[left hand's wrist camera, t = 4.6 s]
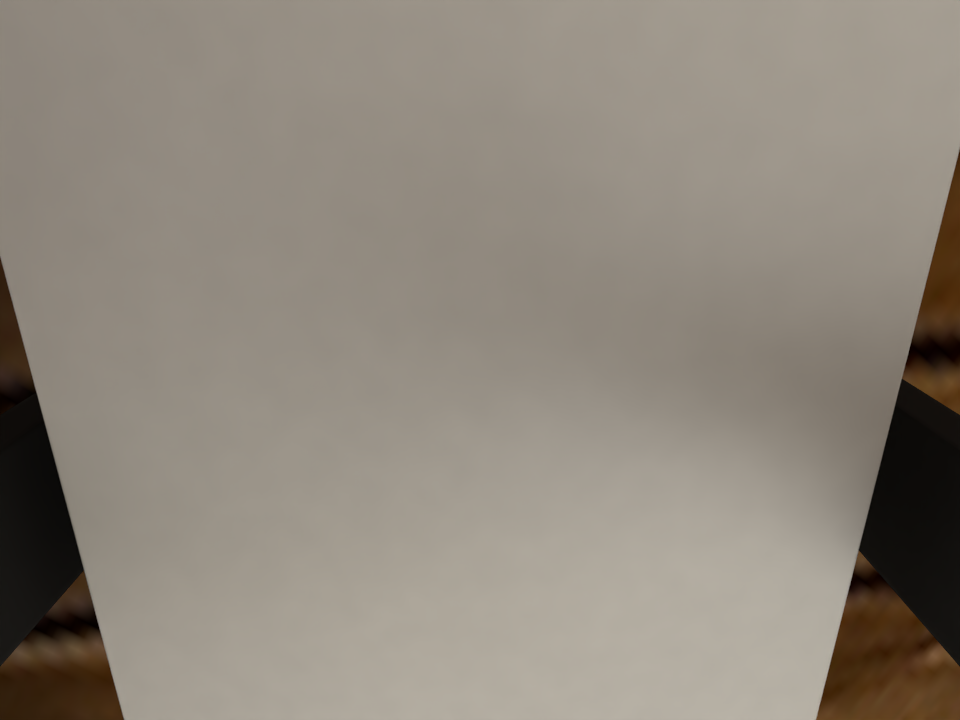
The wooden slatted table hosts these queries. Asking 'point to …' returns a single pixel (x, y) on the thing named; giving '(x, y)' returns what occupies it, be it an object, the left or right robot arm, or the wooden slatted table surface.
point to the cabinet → (471, 339)
